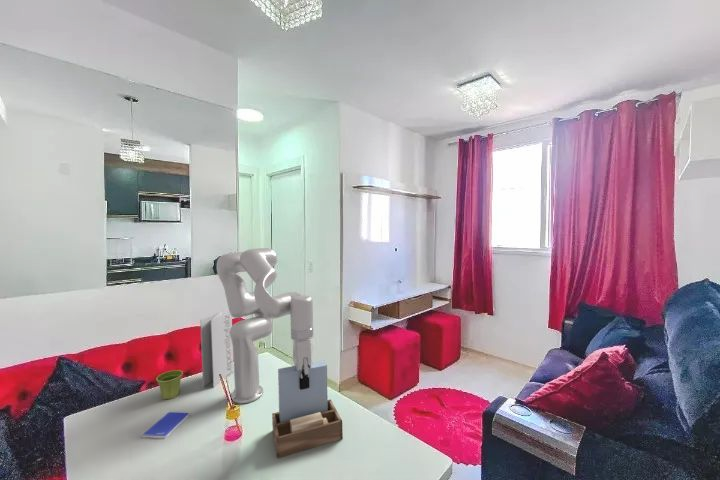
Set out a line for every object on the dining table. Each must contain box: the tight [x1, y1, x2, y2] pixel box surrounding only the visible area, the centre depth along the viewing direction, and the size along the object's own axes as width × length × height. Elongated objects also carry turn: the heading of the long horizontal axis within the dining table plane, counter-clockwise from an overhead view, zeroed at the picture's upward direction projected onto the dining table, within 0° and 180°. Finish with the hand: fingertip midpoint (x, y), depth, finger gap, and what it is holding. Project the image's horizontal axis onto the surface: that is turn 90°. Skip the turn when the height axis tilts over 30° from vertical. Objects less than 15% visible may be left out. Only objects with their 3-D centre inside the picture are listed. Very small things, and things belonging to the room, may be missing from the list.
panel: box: [277, 360, 329, 423], centre depth 102 cm, size 4×16×20 cm, turn 112°
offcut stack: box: [290, 412, 328, 433], centre depth 97 cm, size 4×14×8 cm, turn 113°
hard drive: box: [141, 411, 190, 439], centre depth 106 cm, size 2×8×12 cm
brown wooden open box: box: [271, 399, 344, 459], centre depth 100 cm, size 13×21×6 cm, turn 112°
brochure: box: [199, 310, 234, 388], centre depth 138 cm, size 14×6×30 cm, turn 168°
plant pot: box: [155, 369, 184, 400], centre depth 125 cm, size 9×9×9 cm
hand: (303, 384), depth 102 cm, fingers closed on panel, 4 cm apart
